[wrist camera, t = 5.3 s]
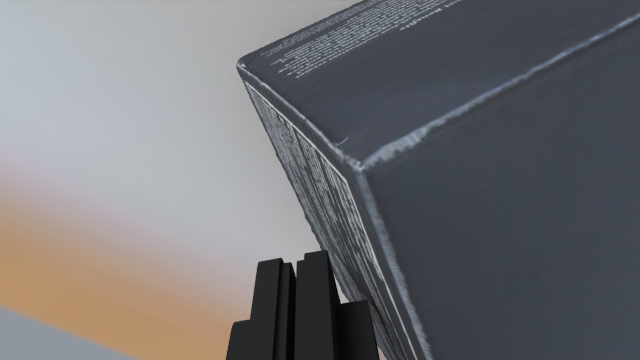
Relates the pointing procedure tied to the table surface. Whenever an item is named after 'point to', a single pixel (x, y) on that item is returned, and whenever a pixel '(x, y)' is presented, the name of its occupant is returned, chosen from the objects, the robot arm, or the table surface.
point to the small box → (469, 170)
